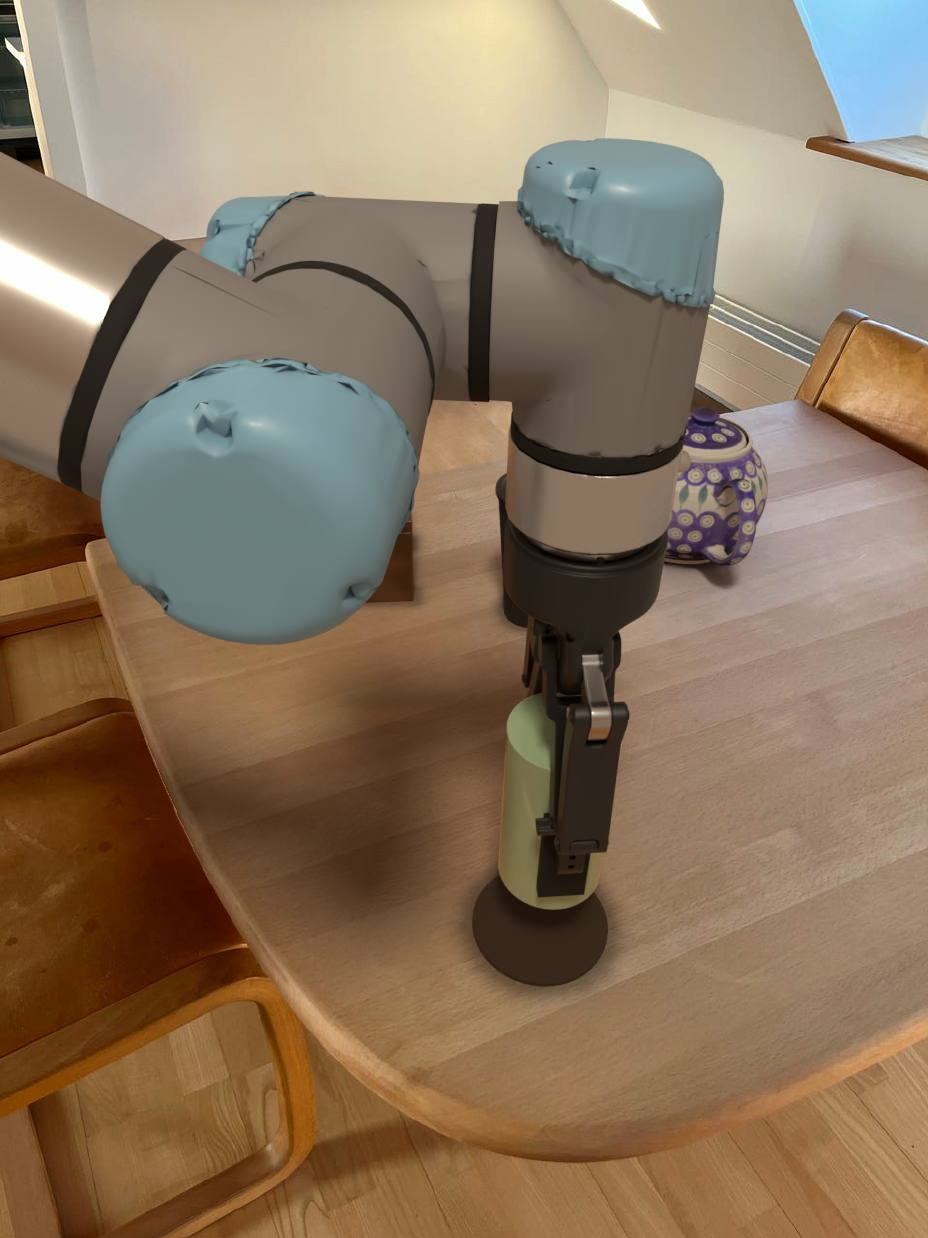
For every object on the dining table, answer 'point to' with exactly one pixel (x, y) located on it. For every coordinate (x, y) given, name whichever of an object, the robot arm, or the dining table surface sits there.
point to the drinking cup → (509, 606)
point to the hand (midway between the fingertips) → (550, 841)
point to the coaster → (538, 936)
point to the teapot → (716, 493)
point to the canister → (530, 806)
